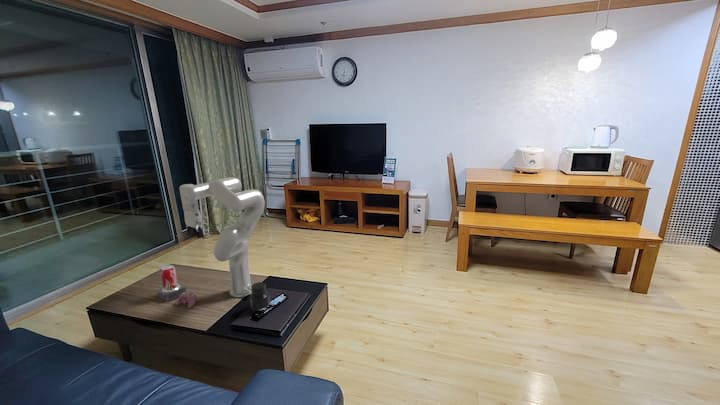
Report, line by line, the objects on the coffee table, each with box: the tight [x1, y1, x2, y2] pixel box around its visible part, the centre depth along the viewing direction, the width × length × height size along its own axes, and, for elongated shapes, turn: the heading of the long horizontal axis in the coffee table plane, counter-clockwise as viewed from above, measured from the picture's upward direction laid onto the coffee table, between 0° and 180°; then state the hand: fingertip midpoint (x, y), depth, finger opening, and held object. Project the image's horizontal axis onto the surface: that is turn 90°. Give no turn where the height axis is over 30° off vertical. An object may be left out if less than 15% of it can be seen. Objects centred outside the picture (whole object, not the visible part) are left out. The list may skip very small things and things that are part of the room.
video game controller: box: [175, 291, 198, 309], centre depth 153 cm, size 10×5×7 cm, turn 72°
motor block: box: [156, 282, 187, 303], centre depth 163 cm, size 15×10×4 cm
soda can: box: [159, 264, 179, 290], centre depth 160 cm, size 7×7×12 cm
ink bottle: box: [249, 281, 271, 312], centre depth 148 cm, size 10×9×12 cm
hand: (195, 235), depth 170 cm, fingers open, 9 cm apart
